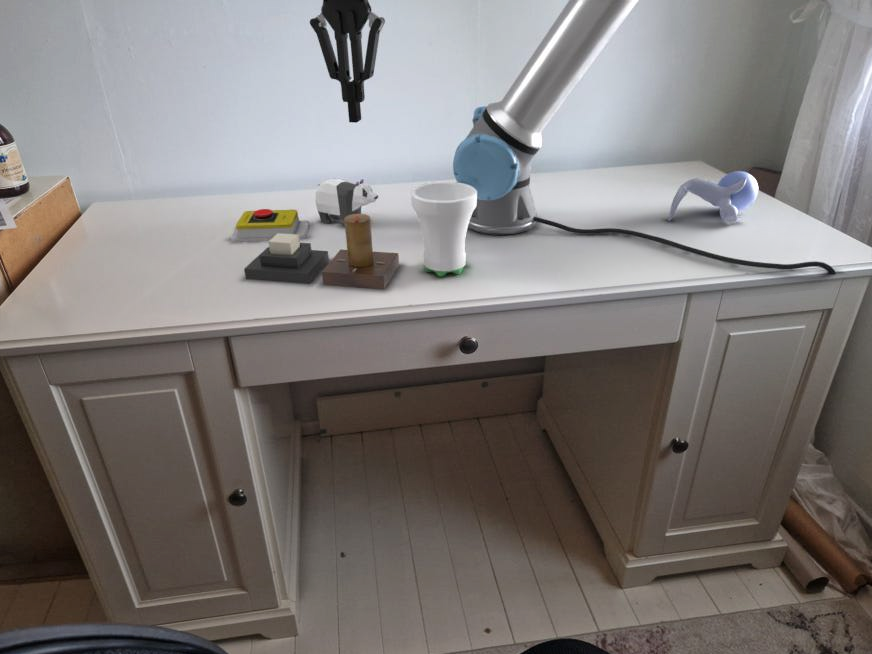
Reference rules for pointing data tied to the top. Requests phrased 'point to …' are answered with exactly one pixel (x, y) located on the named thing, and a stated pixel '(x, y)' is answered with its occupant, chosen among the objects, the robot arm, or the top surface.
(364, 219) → the volume knob
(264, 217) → the emergency button
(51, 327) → the top surface
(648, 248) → the top surface
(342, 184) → the giant panda
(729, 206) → the seal
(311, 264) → the grey stepped base
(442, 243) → the cup
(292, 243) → the cream square push button
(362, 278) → the volume panel
